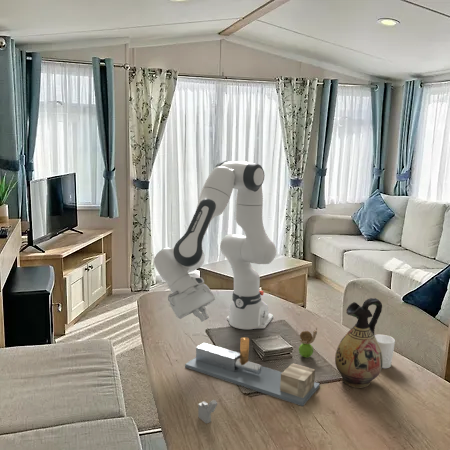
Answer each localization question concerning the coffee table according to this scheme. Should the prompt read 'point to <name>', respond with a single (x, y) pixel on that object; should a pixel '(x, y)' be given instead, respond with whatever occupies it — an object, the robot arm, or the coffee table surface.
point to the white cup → (386, 348)
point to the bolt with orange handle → (246, 358)
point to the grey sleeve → (217, 356)
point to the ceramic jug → (360, 347)
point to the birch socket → (297, 380)
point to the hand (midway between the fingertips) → (205, 319)
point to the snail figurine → (306, 343)
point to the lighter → (206, 410)
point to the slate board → (253, 380)
